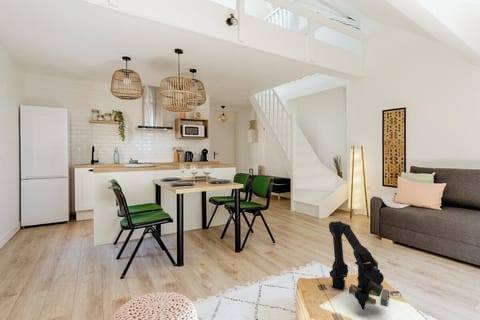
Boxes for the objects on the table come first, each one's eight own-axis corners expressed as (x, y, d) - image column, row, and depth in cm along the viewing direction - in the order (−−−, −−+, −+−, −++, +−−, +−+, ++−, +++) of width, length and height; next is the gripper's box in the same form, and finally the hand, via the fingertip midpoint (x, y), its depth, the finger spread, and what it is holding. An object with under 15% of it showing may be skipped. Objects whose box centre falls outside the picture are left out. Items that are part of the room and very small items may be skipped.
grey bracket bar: (380, 304, 135) (380, 298, 135) (383, 294, 145) (383, 289, 145) (387, 306, 134) (387, 300, 134) (389, 296, 143) (389, 290, 143)
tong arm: (349, 292, 148) (349, 286, 148) (351, 291, 149) (350, 285, 149) (374, 304, 136) (374, 297, 136) (376, 303, 137) (375, 296, 137)
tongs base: (348, 293, 148) (348, 288, 148) (351, 288, 153) (351, 284, 153) (378, 300, 139) (378, 296, 139) (379, 295, 145) (379, 290, 145)
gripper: (379, 286, 121) (379, 319, 121) (383, 272, 137) (384, 301, 137) (353, 281, 128) (354, 312, 128) (361, 267, 143) (361, 295, 143)
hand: (364, 305), depth 134 cm, fingers open, 9 cm apart
